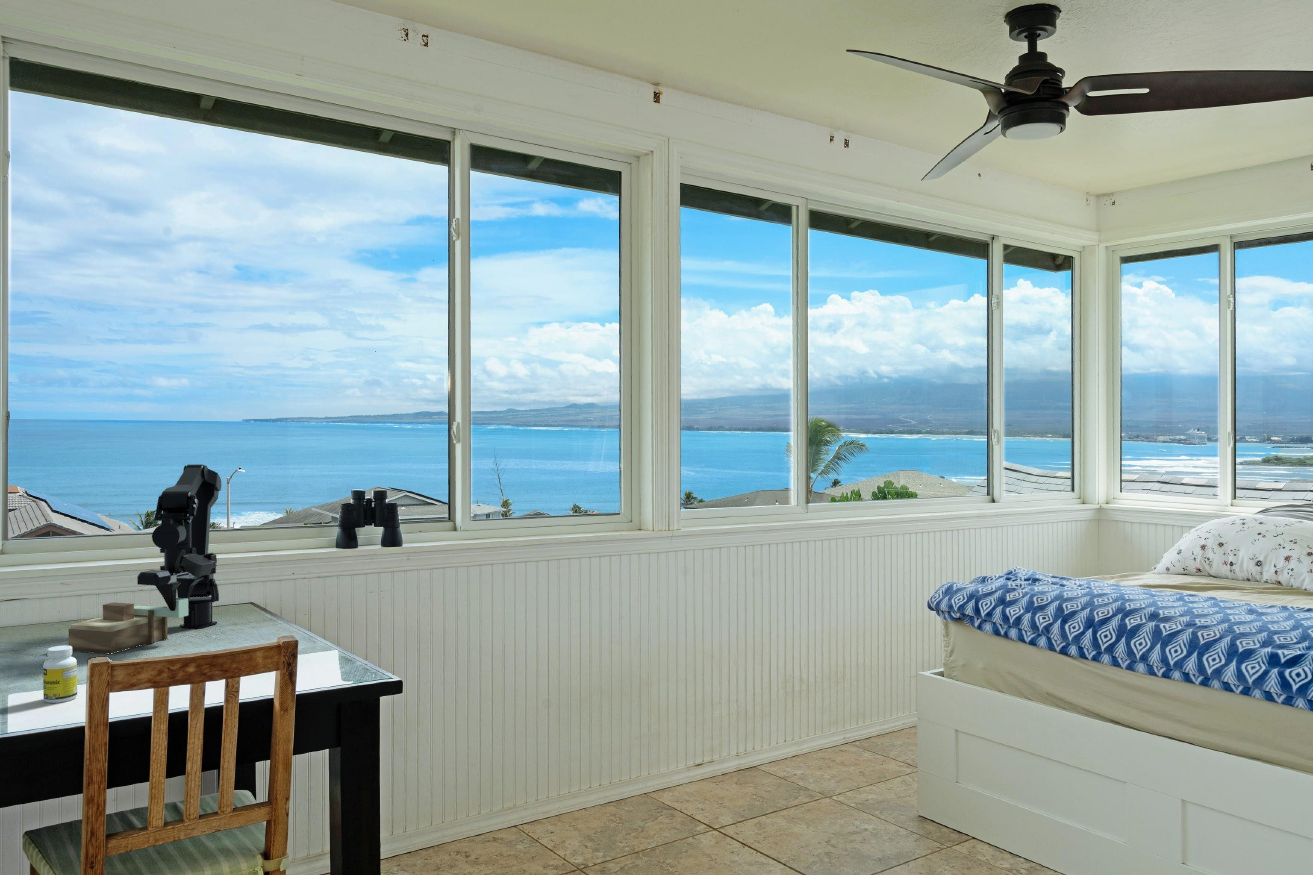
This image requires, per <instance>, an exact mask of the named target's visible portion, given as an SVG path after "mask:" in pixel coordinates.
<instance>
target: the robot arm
mask: <svg viewBox="0 0 1313 875" xmlns="http://www.w3.org/2000/svg"><path fill="white" fill-rule="evenodd" d="M182 471H183V472H182V473H181V475H180V476H179V478H178V480H177V482H176V483H175V484H174V486H169V487H166V488H165V489H164V490H163V491H162V492H161V494H160V495H159V496H158V498H157V499H158V500H157V504H156V508H155V514H154V522H160V523H161V524H160V525H158V526H157V527H155V528H154V530H153V532H152V535H151V539H152V540H151V541H152V542H153V544H154V545H155V546H156V547H157V548H159V553H160V554H163V556H164V557H163V559H164V560H163V561H164V562H163V563H164V564H163V565H160V566H159V569H158V570H157V569H149V570H146V571H145V570H144V571H140V572H139V573H138V575H137V578H136V579H137V583H136V584H137V585H140V586H142V585H143V586H155V588H156V589H157V591H158V592H159V594H160V595H161V597H162V598H163V600H164V602H165V603H166V607H167V608H168V607H169V609H170V611H175V608H176V598H188V616H184V617H183V623H181V624H179V625H178V626H179V628H188V629H203V628H206V627H207V628H208V627H211V626H213V625H216V624H218V621H214V620H213V603H215V602H219V601H220V592H219V587H218V584H217V582H216V579H215V577H214V576H215V575H214V574H216V573H217V561H218V559H217V554H216V553H213V552H209V545H210V544H209V543H210V528H211V527H210V526H211V512H212V508H213V506H214V505H215V503H216V502H217V501H218V499H219V494H220V492H221V490H222V479H221V477H220V475H219V473H218V472H216V471H215V470H213V469H210V468H209V467H208V466H207V465H205V464H202V463H201V464H200V463H199V464H196V463H195V464H190V463H189V464H186V465H184V467H183V470H182Z"/></svg>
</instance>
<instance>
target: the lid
mask: <svg viewBox="0 0 1313 875" xmlns="http://www.w3.org/2000/svg"><path fill="white" fill-rule="evenodd" d="M134 605H135V603H130V602H129V603H127V602H116V601H115V602H113V601H112V602H108V603H105V604H102V616H100V617H96V618H92V619H87V620H83V621H79V622H76V623H71V624H70V625H69V629H78V630H91V631H104V632H113V631H117V630H120V629H124V628H128V627H132V626H136V625H140V624H143V623H147V622H148V616H145V615H134ZM159 619H162V617H159V616H154V621H155V620H159Z"/></svg>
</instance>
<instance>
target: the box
mask: <svg viewBox="0 0 1313 875" xmlns="http://www.w3.org/2000/svg"><path fill="white" fill-rule="evenodd" d="M164 607H165V608H168V606H164ZM168 635H169V634H168V617H162V619H159V620H155V621H154V610H148V622H147V623H143V624H140V625H136V626H132V627H128V628H124V629H120V630H117V631H113V632H104V631H91V630H78V629H70V628H68V646H72V652H76V651H80V652H79V653H88V652H94V653H93V654H100V653H109V654H108V655H112V654H111V653H114V652H117V651H121V652H123V651H122V650H125V649H128V648H132V649H134V648H133V647H135V648H137V647H136V646H139V645H142V646H145V645H144V644H146V645H149V644H148V643H154V644H155V642H154V641H156V642H158V640H160V641H162V640H161V639H168V637H169V636H168ZM168 640H169V639H168ZM139 647H140V646H139ZM128 650H129V649H128ZM125 651H126V650H125Z"/></svg>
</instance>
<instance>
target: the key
mask: <svg viewBox="0 0 1313 875" xmlns="http://www.w3.org/2000/svg"><path fill="white" fill-rule="evenodd" d="M165 607H166V606H148V605H135V604H134V615H145V616H148V610H154V616H159V617H167V618H175V619H176V618H177V619H180V618H184V616H188V598H178V597H176V608H175V611H170V609H169V607H168V606H167V608H165Z"/></svg>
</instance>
